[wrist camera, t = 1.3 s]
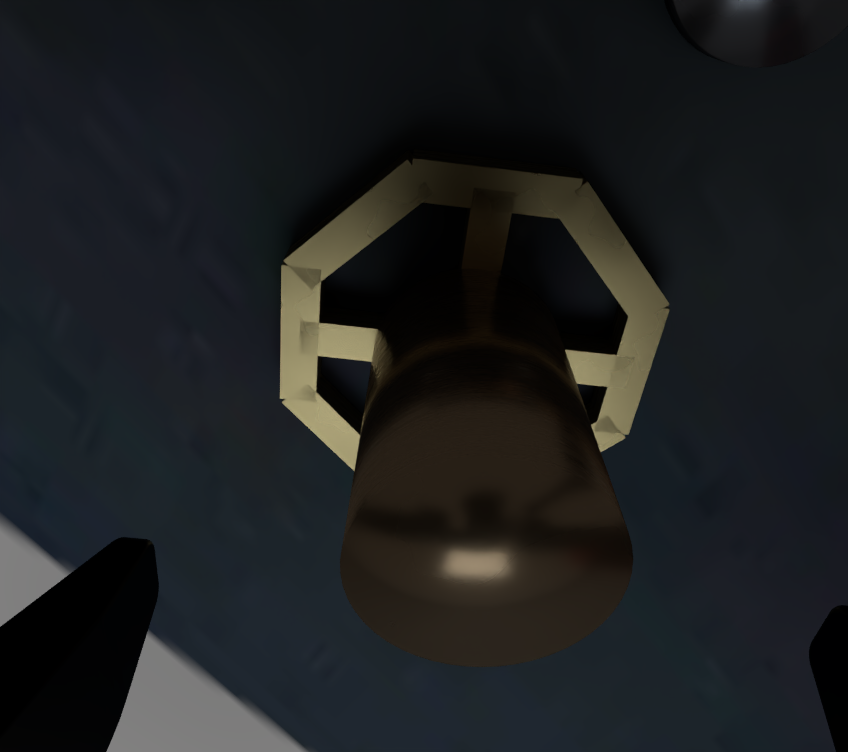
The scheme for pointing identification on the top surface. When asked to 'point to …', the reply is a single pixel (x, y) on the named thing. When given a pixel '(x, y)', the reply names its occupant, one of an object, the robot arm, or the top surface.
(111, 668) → the robot arm
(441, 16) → the top surface
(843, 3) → the zigzag metal pull handle
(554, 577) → the octagonal handwheel knob
